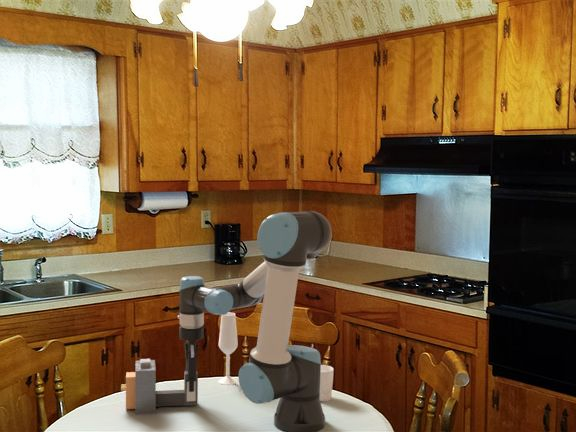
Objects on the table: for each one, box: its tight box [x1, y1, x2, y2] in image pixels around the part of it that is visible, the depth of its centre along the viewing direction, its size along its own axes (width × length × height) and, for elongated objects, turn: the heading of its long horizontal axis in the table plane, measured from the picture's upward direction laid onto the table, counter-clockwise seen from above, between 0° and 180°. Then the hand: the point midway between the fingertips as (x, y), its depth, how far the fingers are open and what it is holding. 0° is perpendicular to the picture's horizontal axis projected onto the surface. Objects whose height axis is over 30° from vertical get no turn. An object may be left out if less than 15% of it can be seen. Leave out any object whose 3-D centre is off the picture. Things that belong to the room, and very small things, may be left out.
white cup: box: [320, 364, 335, 402], centre depth 237 cm, size 8×8×10 cm
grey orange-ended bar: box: [120, 370, 199, 410], centre depth 227 cm, size 24×5×10 cm, turn 101°
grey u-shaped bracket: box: [135, 358, 157, 415], centre depth 225 cm, size 6×11×15 cm, turn 12°
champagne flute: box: [217, 311, 239, 386], centre depth 252 cm, size 7×7×24 cm
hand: (190, 398), depth 229 cm, fingers closed on grey orange-ended bar, 3 cm apart
